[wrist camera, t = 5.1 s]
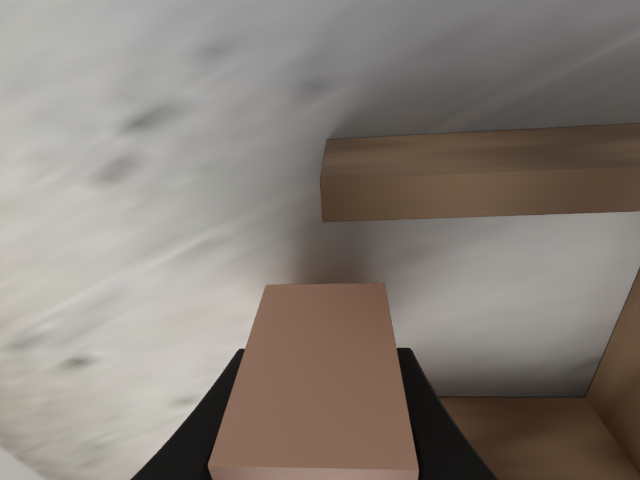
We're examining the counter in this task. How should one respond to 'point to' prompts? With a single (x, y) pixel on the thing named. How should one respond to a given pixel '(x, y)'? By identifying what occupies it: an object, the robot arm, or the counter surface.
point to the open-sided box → (509, 200)
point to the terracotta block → (318, 391)
